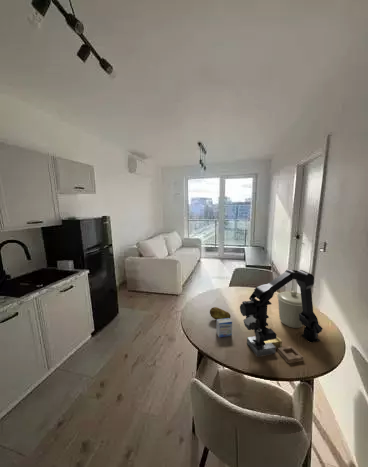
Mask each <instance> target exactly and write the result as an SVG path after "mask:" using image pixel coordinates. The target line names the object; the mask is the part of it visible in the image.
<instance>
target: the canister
mask: <svg viewBox="0 0 368 467" xmlns="http://www.w3.org/2000/svg"><path fill="white" fill-rule="evenodd" d="M276 296H277V299H278V303H277V304H278V314H279V320H280V322H281V323H282V324H283V325H285V326H287V327H290V328H293V329H299V328H301V327H303V326H304V325H302V322H301V321H300V320H299V314H301V312H302V311H303V309H302V300H301V292H297V291H296V290H291V291H287V290H286V291H282V292H279V293H277V294H276Z"/></svg>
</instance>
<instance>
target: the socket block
mask: <svg viewBox="0 0 368 467" xmlns="http://www.w3.org/2000/svg"><path fill="white" fill-rule="evenodd" d="M265 341H268V340H265ZM255 343H256V336H248V337H246V344H247V345H248V347H249V348H250V350H251V351H252V352H253V354H254V355H255V356H256V357H257V358H258V357H264V356H270V355H274V354H276V350H277V347H275V346H274V345H273V344H272V343H266V344H265V345H263V346H257V345H256V344H255Z"/></svg>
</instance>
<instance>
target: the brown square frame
mask: <svg viewBox="0 0 368 467" xmlns="http://www.w3.org/2000/svg"><path fill="white" fill-rule="evenodd" d="M277 352H278V354H279V355H280V356H281V357H282V359H284V360H285V362H286V363H287V364H293V363H297V362H303V361H304V355H302V354H301V353H300V352H299V351H298V350H297V349H296V348H295V347H294V346H293V345H288V346H282V347H277Z"/></svg>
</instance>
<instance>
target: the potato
mask: <svg viewBox="0 0 368 467" xmlns="http://www.w3.org/2000/svg"><path fill="white" fill-rule="evenodd" d="M209 315H210V317H211V318H212V319H214V320H215V321H216V320H217V319H225V318H230V319H231V317H232V316H231V314H230V313H229V311H227V310H224V309H222V308H219V307H217V306H216V307H215V306H214V307H211V308H210V309H209Z"/></svg>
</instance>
